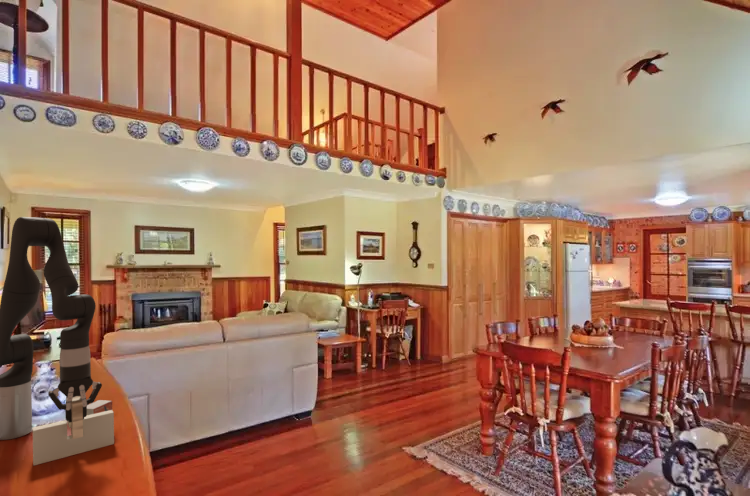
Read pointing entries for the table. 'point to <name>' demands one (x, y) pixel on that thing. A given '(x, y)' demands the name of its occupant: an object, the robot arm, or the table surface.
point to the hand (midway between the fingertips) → (76, 419)
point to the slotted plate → (76, 418)
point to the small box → (99, 407)
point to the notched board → (56, 443)
